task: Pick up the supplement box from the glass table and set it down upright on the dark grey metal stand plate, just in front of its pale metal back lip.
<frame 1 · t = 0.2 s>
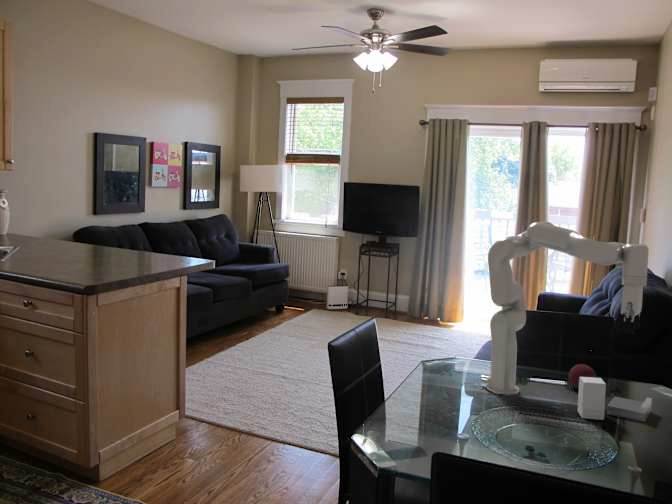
hand: (631, 330, 201), 30 cm above the table, tool pointing down, fingers open, 9 cm apart
decorative ball: (581, 390, 233), on the table
supplement box: (590, 416, 206), on the table
stand plate: (628, 412, 208), on the table
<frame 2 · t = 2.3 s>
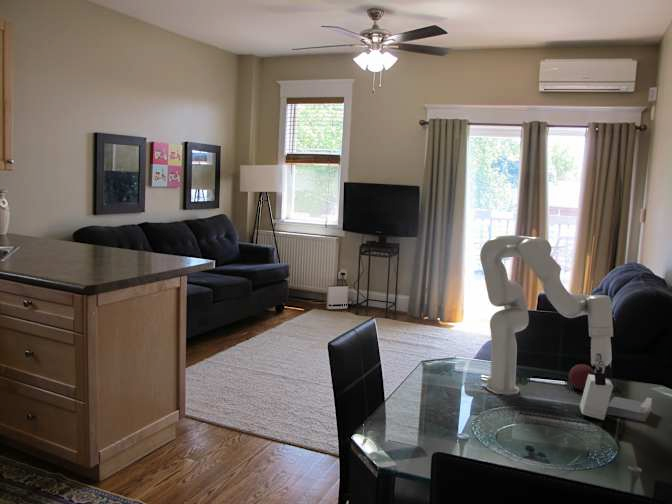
hand: (603, 381, 202), 13 cm above the table, tool pointing down, fingers open, 9 cm apart
supplement box: (591, 413, 206), point 1 cm above the table, touching gripper
everything else where it was.
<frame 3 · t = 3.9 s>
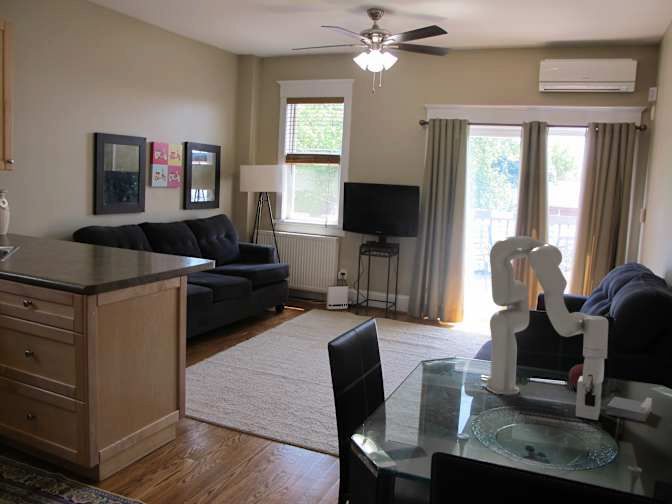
hand: (593, 402, 205), 5 cm above the table, tool pointing down, fingers closed on supplement box, 7 cm apart
supplement box: (587, 415, 206), on the table, touching gripper
everything else where it was.
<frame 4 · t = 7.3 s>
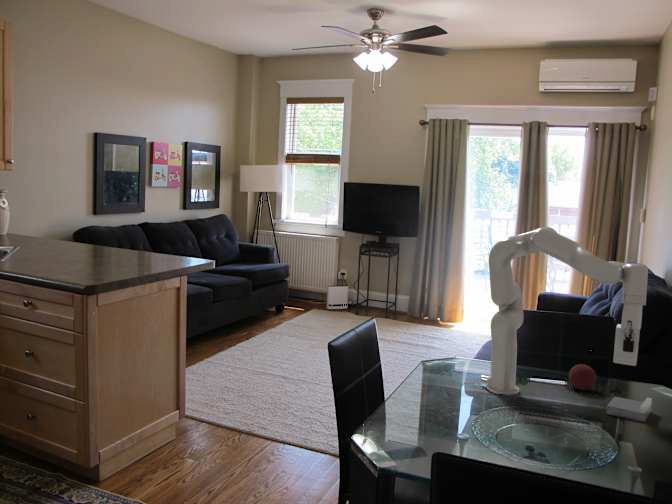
hand: (630, 349, 206), 23 cm above the table, tool pointing down, fingers closed on supplement box, 7 cm apart
supplement box: (625, 362, 208), point 18 cm above the table, touching gripper
everything else where it was.
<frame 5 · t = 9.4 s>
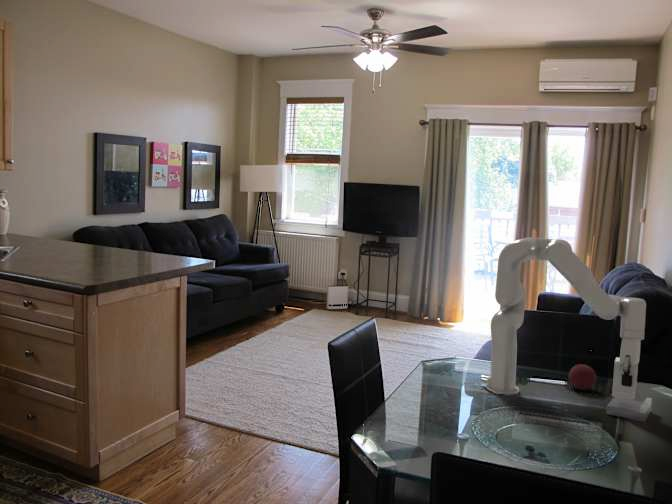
hand: (629, 382, 208), 11 cm above the table, tool pointing down, fingers closed on supplement box, 7 cm apart
supplement box: (623, 396, 209), point 6 cm above the table, touching gripper
everything else where it was.
when the fingers open (8 cm above the table, at t = 11.0 s): supplement box stays where it is, resting on stand plate.
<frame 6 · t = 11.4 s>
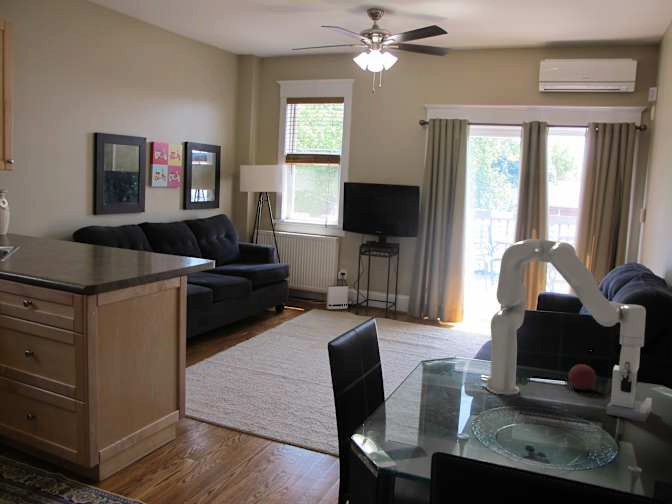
hand: (628, 388, 208), 9 cm above the table, tool pointing down, fingers open, 9 cm apart
supplement box: (622, 404, 209), point 3 cm above the table, touching stand plate
everything else where it was.
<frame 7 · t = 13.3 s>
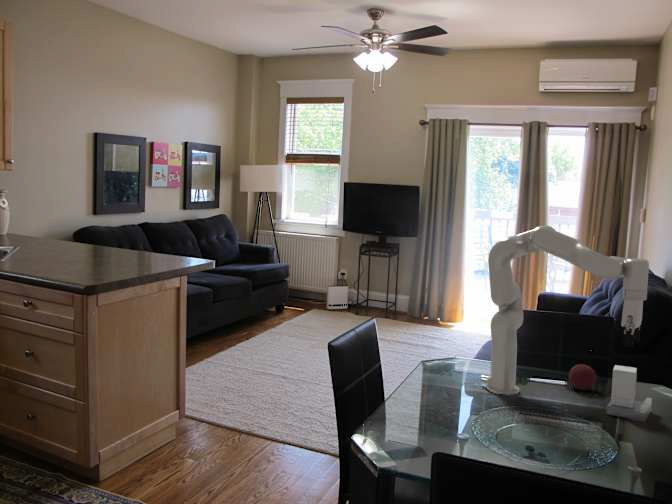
hand: (631, 343, 206), 25 cm above the table, tool pointing down, fingers open, 9 cm apart
nothing on the table moved.
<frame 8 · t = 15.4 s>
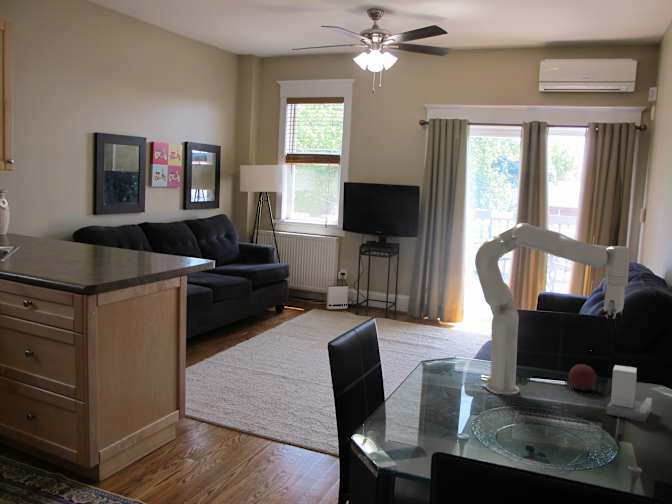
hand: (613, 327, 216), 28 cm above the table, tool pointing down, fingers open, 9 cm apart
nothing on the table moved.
at the end: supplement box inside the target area on the stand plate (1.9 cm from its centre), point 2.8 cm above the stand plate's base; supplement box tilted 0°; the gripper is holding nothing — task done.
